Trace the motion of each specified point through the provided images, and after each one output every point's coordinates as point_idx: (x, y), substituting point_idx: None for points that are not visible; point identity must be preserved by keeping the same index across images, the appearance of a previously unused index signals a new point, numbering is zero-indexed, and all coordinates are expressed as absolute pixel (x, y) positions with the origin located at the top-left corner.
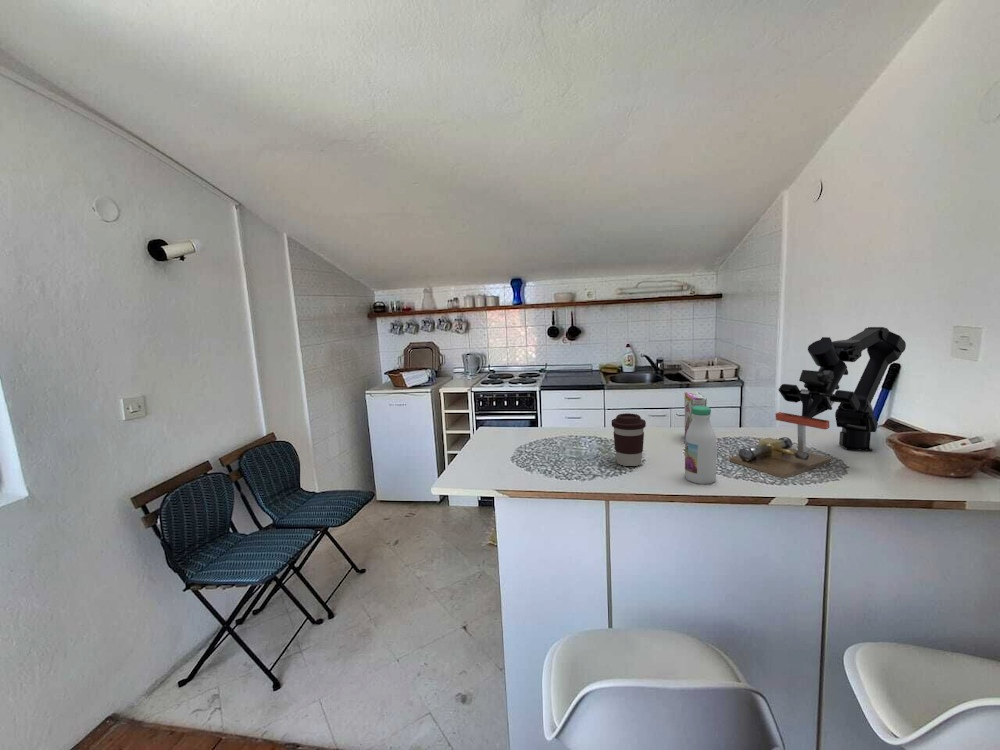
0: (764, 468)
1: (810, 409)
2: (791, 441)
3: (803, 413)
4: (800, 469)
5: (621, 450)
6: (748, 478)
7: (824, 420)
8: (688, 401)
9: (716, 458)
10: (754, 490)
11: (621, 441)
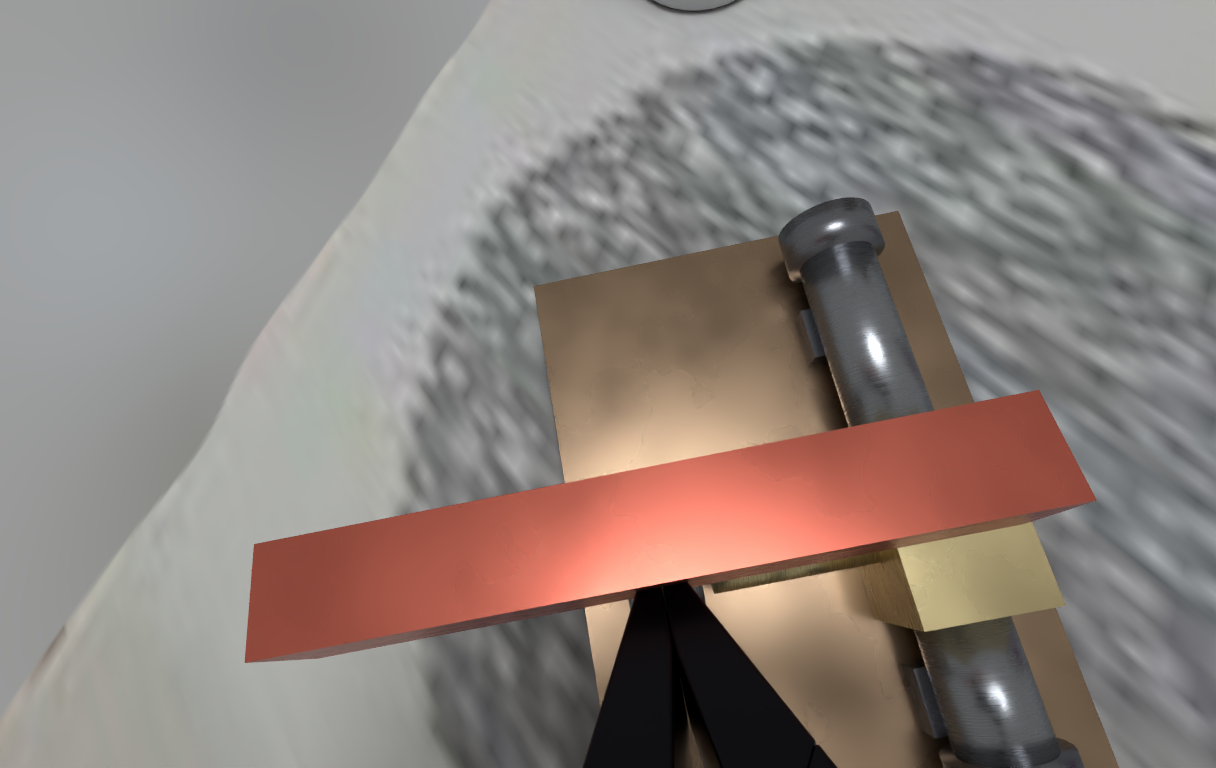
0: (655, 261)
1: (616, 762)
2: None
3: (707, 646)
4: (559, 442)
5: None
6: (618, 145)
7: (307, 623)
8: None
9: None
10: (494, 77)
11: None
